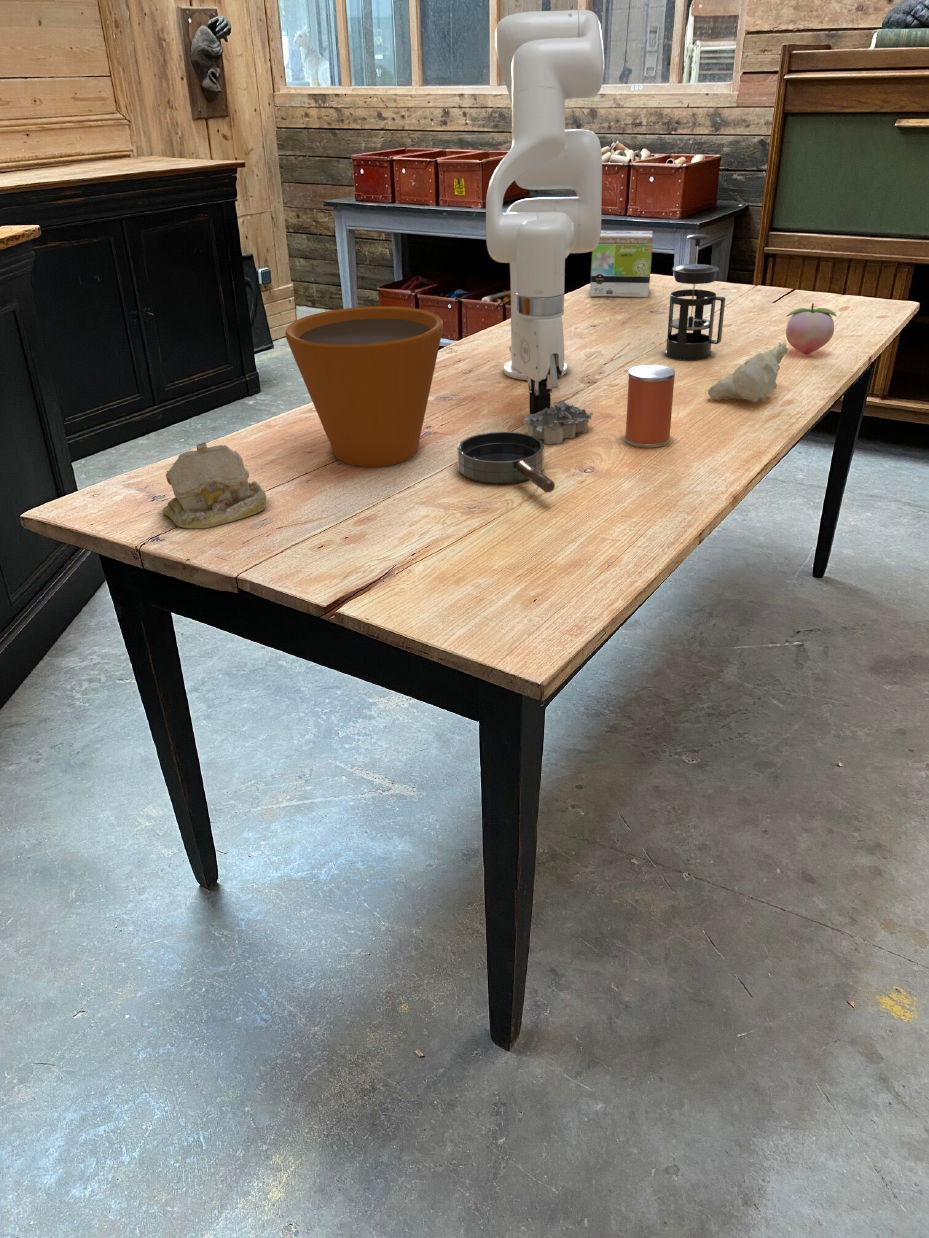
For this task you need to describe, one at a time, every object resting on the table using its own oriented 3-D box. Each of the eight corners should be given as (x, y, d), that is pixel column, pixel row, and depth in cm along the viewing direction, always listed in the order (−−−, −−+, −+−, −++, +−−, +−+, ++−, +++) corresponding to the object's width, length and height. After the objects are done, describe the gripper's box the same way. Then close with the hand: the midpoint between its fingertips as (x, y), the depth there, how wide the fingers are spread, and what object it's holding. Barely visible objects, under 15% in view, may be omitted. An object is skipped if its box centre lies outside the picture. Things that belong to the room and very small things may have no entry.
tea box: (589, 298, 240) (591, 236, 233) (591, 289, 249) (593, 230, 241) (649, 298, 238) (653, 235, 230) (649, 289, 247) (652, 229, 239)
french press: (654, 357, 192) (662, 237, 180) (671, 346, 199) (681, 229, 187) (709, 364, 186) (722, 241, 175) (725, 352, 193) (738, 233, 181)
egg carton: (552, 447, 150) (552, 423, 148) (519, 436, 155) (518, 412, 153) (596, 430, 156) (597, 406, 154) (563, 420, 161) (563, 396, 159)
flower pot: (286, 439, 158) (268, 318, 147) (418, 416, 165) (410, 299, 155) (325, 489, 139) (308, 353, 128) (472, 460, 146) (467, 330, 136)
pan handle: (514, 471, 136) (514, 459, 135) (525, 469, 137) (525, 457, 136) (545, 495, 129) (545, 483, 128) (557, 493, 129) (557, 480, 128)
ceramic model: (171, 535, 127) (155, 466, 122) (159, 505, 136) (144, 439, 130) (273, 515, 131) (262, 447, 126) (255, 487, 140) (245, 422, 135)
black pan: (445, 462, 146) (444, 440, 144) (520, 448, 150) (520, 426, 148) (479, 491, 136) (478, 468, 134) (559, 475, 140) (559, 452, 138)
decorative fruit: (824, 348, 193) (832, 298, 188) (833, 359, 186) (842, 307, 181) (777, 348, 194) (784, 298, 189) (785, 359, 187) (792, 308, 182)
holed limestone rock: (727, 424, 162) (805, 369, 156) (703, 390, 162) (779, 333, 156) (734, 423, 176) (805, 373, 170) (711, 391, 176) (782, 340, 170)
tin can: (616, 437, 153) (620, 369, 147) (653, 430, 155) (658, 362, 150) (640, 451, 147) (644, 380, 142) (678, 443, 150) (684, 373, 144)
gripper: (499, 298, 155) (501, 405, 164) (540, 318, 143) (539, 432, 152) (540, 292, 157) (539, 399, 167) (583, 311, 145) (580, 425, 155)
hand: (539, 415), depth 160 cm, fingers closed
